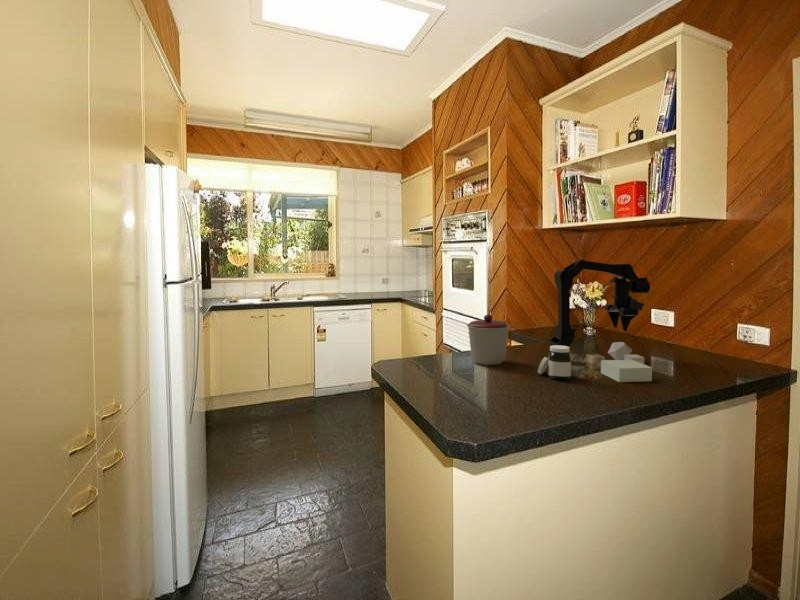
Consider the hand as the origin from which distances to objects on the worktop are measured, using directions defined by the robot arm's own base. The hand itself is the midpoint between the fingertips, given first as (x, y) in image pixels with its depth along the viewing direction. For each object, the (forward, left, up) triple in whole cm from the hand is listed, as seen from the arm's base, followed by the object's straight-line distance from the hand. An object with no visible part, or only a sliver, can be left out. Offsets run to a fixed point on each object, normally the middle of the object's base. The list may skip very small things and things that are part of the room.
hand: (620, 329), depth 171 cm
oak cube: (-16, -10, -14) cm, 23 cm away
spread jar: (-38, -21, -14) cm, 45 cm away
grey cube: (-1, -12, -14) cm, 18 cm away
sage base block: (-12, -24, -14) cm, 30 cm away
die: (+1, +1, -14) cm, 14 cm away
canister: (-57, +2, -14) cm, 59 cm away
